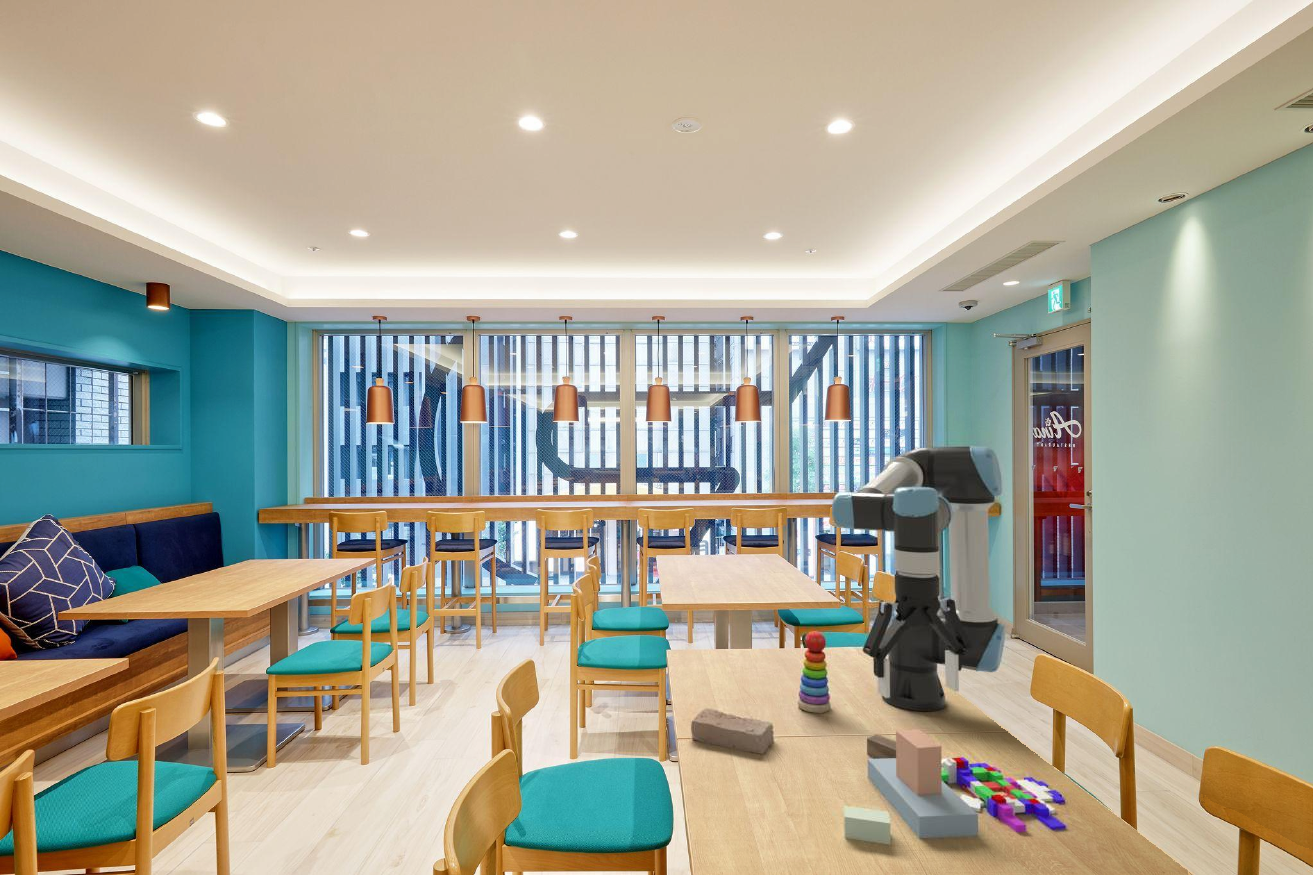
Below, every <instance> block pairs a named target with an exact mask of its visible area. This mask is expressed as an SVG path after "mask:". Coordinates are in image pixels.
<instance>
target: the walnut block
mask: <svg viewBox="0 0 1313 875" xmlns="http://www.w3.org/2000/svg"><path fill="white" fill-rule="evenodd" d="M866 755H867V756H869V757H871V758H873V759H886V758H896V740H892V739H891V738H888V737H885V736H882V735H880V734H878V733H877V734H874V735H871V736H869V737H867V738H866Z"/></svg>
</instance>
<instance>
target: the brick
mask: <svg viewBox="0 0 1313 875" xmlns="http://www.w3.org/2000/svg"><path fill="white" fill-rule="evenodd" d="M690 731H691V738H692V739H693V740H695V741H699V742H701V743H704V742H705V743H707V744H709V745H715V746H718V747H722V748H723V747H725V748H728V749H735V750H738V751H744V752H749V753H755V754H759V755H764V754H765V753H766V752H767V750H768V749H769V748H770V746H773V744H774V738H775V737H774V725H773V722H770V721H763V720H760V719H757V718H748V717H740V716H736V715H735V714H732V713H725V712H723V711H719V710H718V709H717V710H715V709H713V708H709V707H708V708H703V709H702V710H701V711H700V712H699V713H698V714H697V715H696V716H695V718H694V719H692V721H691V725H690Z"/></svg>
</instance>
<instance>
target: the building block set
mask: <svg viewBox="0 0 1313 875" xmlns="http://www.w3.org/2000/svg"><path fill="white" fill-rule="evenodd" d="M942 767H943V768H942V781H943V782H944V783H945V782H946V783H947V784H957V785H958V786H960V787H961V788H962V789H964V790H965V791H966V792H967V793H968V794H969V795H971V796H972V797H971V796H969V795H967V794H961V795H960V796H959V797H960V798H961V799H962V800H963V801H964V802H966V803H967V804H968V805H969V806H970V807H971V808H972V809H973V810H974V811H975V812H978V813H981V807H985V808H986V813H988V814H989V815H990V816H992V817H993V818H998V819H1000V820H1001V821H1002V822H1003V823H1004V824H1005V825H1007V826H1008V827H1009V828H1010V829H1012V830H1013V831H1014V832H1015V833H1026V832H1027V824H1025V822H1023V821H1022V820H1020V819H1019V817H1017V816H1016V814H1017V813H1021V814H1023V815H1029V814H1032V815H1034V816H1035V817H1037V820H1038V821H1039V822H1041V823H1042V825H1044V826H1045V827H1047V828H1048V829H1050V830H1051V831H1056V830H1057V831H1059V830H1066V829H1067V825H1066V824H1065V823H1064V822H1062V821H1060V820H1059V819H1058V818H1056V816H1053V814H1055V813H1056V808H1054V807H1053V806H1052V805H1050V804H1049V803H1047V802H1045V801H1050V802H1053V803H1055V804H1057V803H1058V804H1065V803H1066V799H1064V798H1063V794H1062V793H1060V792H1059V791H1058V790H1056V789H1054V790H1052V789H1049V785H1048V784H1047V783H1045V782H1044V781H1042V780H1036V779H1035V778H1033V777H1032V776H1028V777H1027V776H1026V777H1023V779H1018V780H1017V779H1016V780H1015V779H1014V778H1012V777H1005V778H1004V775H1003V774H1002V772H1001V770H1000V768H997V767H996V766H990V765H989V764H988V763H986V762H977V763H970V762H969V760H967V758H965V757H964V756H961V757H960V756H959V757H947V758H942ZM983 781H985V782H983ZM986 781H987V782H986ZM1021 788H1022V789H1021ZM1019 789H1021V790H1023V791H1021V790H1019ZM1024 790H1025V791H1024ZM996 791H1003V792H1004V793H1005V794H1004V795H1001V794H997V793H996ZM973 797H974V798H973Z"/></svg>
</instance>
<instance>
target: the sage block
mask: <svg viewBox="0 0 1313 875" xmlns="http://www.w3.org/2000/svg"><path fill="white" fill-rule="evenodd" d="M843 829H844V830H843V831H844V838H845V839H851V840H858V841H864V842H871V843H877V844H884V845H891V844H892V843H891V836H892V835H891V821H890V813H889V811H886V810H885V811H884V810H877V809H872V808H863V807H857V806H849V805H844V806H843Z"/></svg>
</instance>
